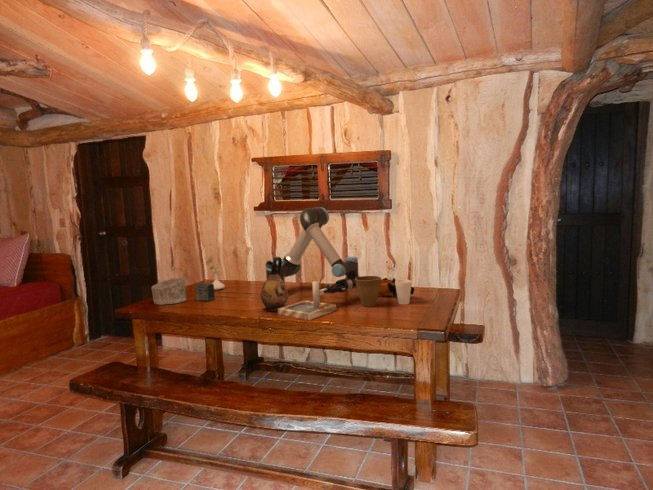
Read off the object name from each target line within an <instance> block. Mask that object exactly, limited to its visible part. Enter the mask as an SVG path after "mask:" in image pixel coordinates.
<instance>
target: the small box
mask: <svg viewBox="0 0 653 490" xmlns="http://www.w3.org/2000/svg"><path fill="white" fill-rule="evenodd" d="M194 289H195V301H197V302H211V301H215V290H214V284H212V283H205V282H201V283H196V284H195V285H194Z"/></svg>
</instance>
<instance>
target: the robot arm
mask: <svg viewBox="0 0 653 490" xmlns="http://www.w3.org/2000/svg"><path fill="white" fill-rule="evenodd" d="M329 220H330V214H329V212H328V211H327V209H326V208H324V207H323V206H322V207H320V206H317V207H307V208H305V209H303V210H302V211H301V213H300V215H299V221H300V224H301V227H302V229H301V231H300V233H299V234H298V237H297V238H296V240H295V241H294V244H293V246H292V247H291V249H290V251H288V252H287V253H286V254H285V255H284V257H283V258H281V259H282V265H281V270H280V277H281V279H282V280H283V282H284V284H285V285H286V282H285V281H286V280H285V279H286V278H287V277H288V278H289V277H291V276H292V277H293V276H294V275H296V274H298V273H299V272H300V270H301V268H302V267H301V264H302V260H301V259H302V257H303V255H305V252H306V250H307V248H308V247H309V245H310V243H311V241H312V240H313V242H314V243H315V245H316V247H317V248H318V249H319V250H320V252H321V253H322V255H323V256H324V259H326V260H327V262H328V263H329V265H330V266H331V274H332V275H333V276H334V277H336V278H339V277H344V276H346V277H345V278H342V279H338V280H336V282H335V283H333V284H327V285H325V286H323V287H321V289H319V296H323V295H326V294H336V293H344V292H348V291H350V290H354V289H357V286H356V281H355V278H357V277H361V276H360V275H359V261H358V257H356V256H347V257H345V261H344V260H343V259H342V257H340V255H339V253H338V252H337V250H336V249H335V248H334V246H333V244H332V243H331V242H330V240H329V239H328V237H327V236H326V235H325V233H324V232H323V230H322V227H323V226H325V225H327V224H328V223H329ZM273 259H274V258H273ZM273 259H270V260H268V261H271V262H273ZM276 264H277V266H278V261H276ZM271 271H272V270H271V269H270V268H267V267H266V266H265V273H266V275H265V277H266V279H267V278H268V277H269V276H270V274H271Z"/></svg>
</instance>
